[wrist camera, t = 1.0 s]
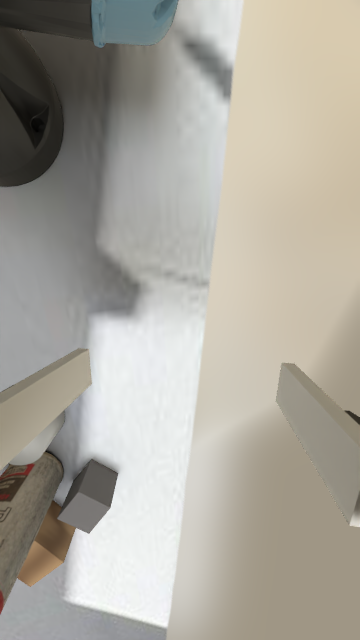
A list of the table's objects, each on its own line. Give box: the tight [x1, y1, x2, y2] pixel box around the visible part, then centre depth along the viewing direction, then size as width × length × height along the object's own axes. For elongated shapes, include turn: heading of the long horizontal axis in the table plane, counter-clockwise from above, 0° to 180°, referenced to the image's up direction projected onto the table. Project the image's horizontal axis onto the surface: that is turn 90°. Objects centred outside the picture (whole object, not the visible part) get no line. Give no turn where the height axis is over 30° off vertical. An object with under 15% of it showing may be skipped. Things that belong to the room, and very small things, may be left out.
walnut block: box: [17, 500, 76, 587], centre depth 29 cm, size 6×6×5 cm
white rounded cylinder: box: [9, 411, 65, 465], centre depth 26 cm, size 6×6×5 cm
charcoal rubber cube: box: [57, 459, 118, 533], centre depth 28 cm, size 5×5×5 cm
